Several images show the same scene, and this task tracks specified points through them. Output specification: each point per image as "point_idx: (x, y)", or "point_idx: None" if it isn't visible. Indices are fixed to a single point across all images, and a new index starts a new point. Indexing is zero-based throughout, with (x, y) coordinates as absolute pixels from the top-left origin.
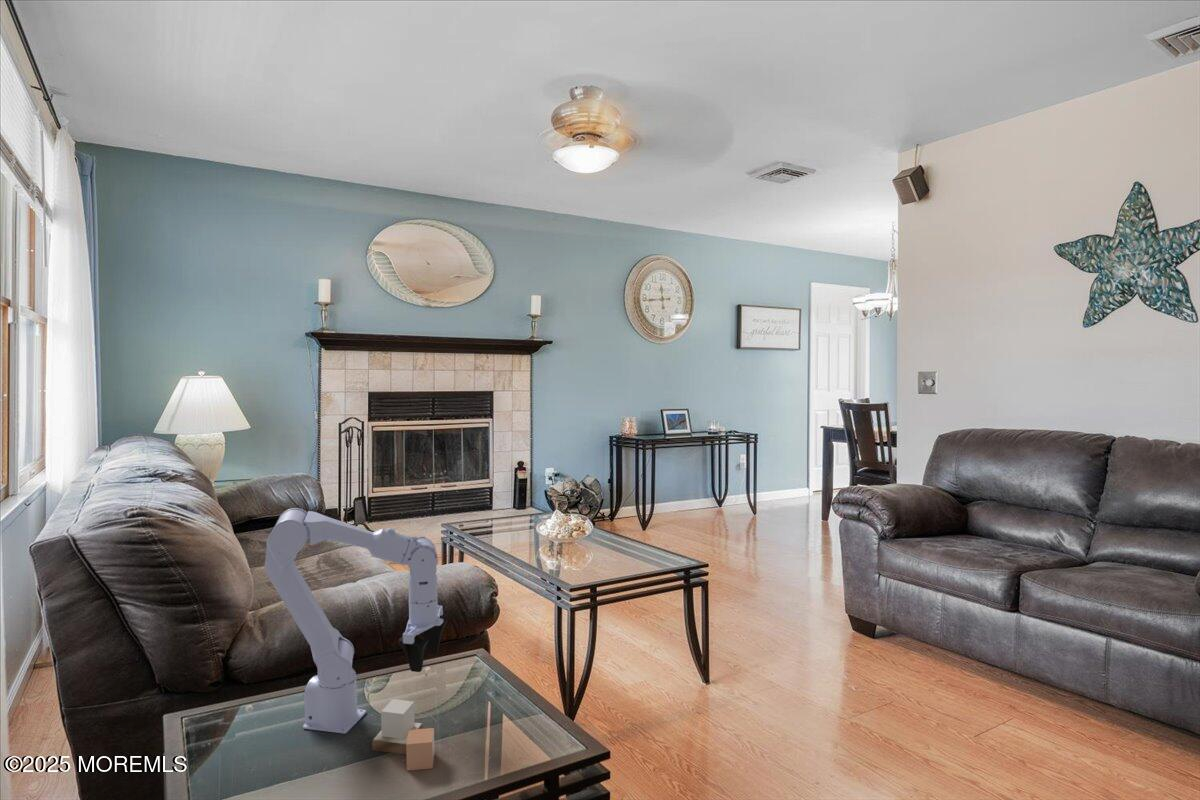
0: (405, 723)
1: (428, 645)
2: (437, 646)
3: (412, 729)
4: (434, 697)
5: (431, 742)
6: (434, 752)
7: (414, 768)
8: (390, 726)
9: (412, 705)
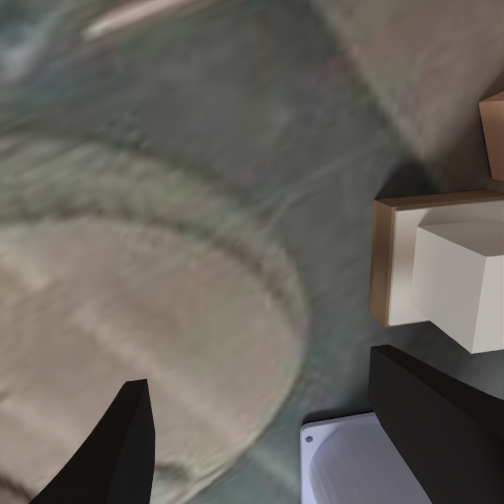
0: None
1: (147, 475)
2: (137, 412)
3: (436, 223)
4: (147, 281)
5: None
6: (482, 101)
7: None
8: None
9: (495, 252)
